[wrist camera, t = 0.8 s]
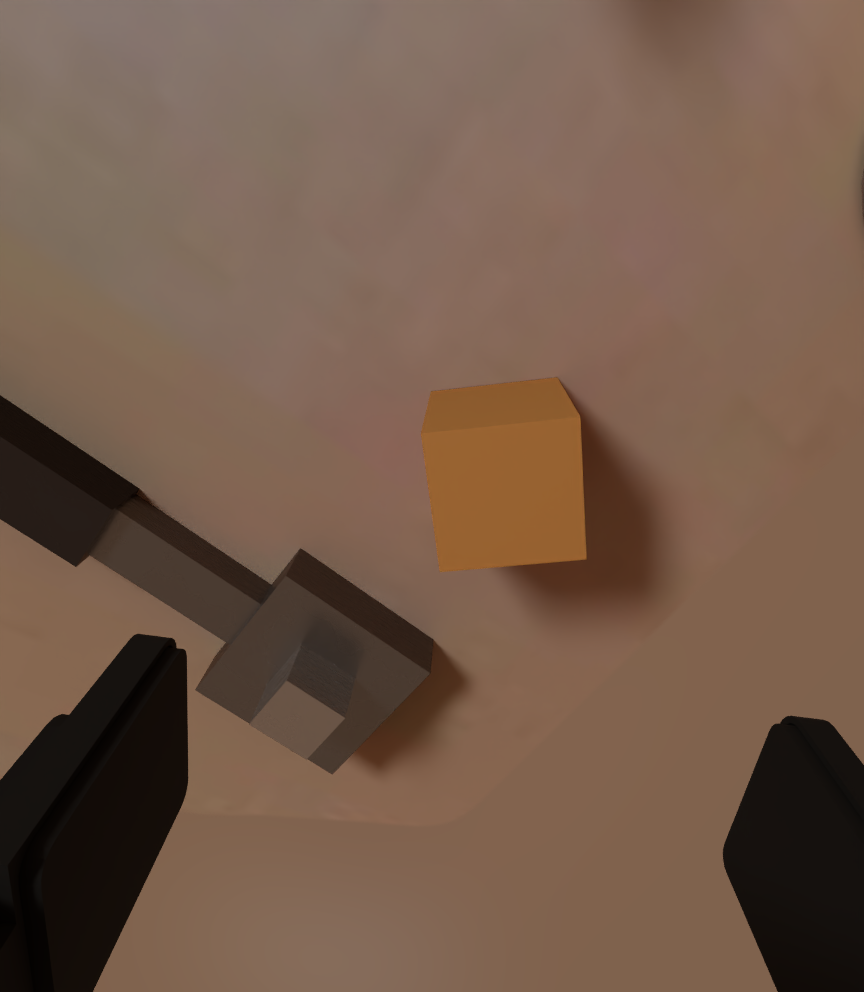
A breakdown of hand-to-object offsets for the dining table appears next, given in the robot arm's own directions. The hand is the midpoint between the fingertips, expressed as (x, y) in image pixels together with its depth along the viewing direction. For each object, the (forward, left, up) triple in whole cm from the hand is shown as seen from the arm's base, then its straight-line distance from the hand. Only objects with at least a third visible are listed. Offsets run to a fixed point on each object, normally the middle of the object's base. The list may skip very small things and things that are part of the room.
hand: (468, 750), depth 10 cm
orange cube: (-1, +2, -23) cm, 23 cm away
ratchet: (+17, +6, -23) cm, 29 cm away
